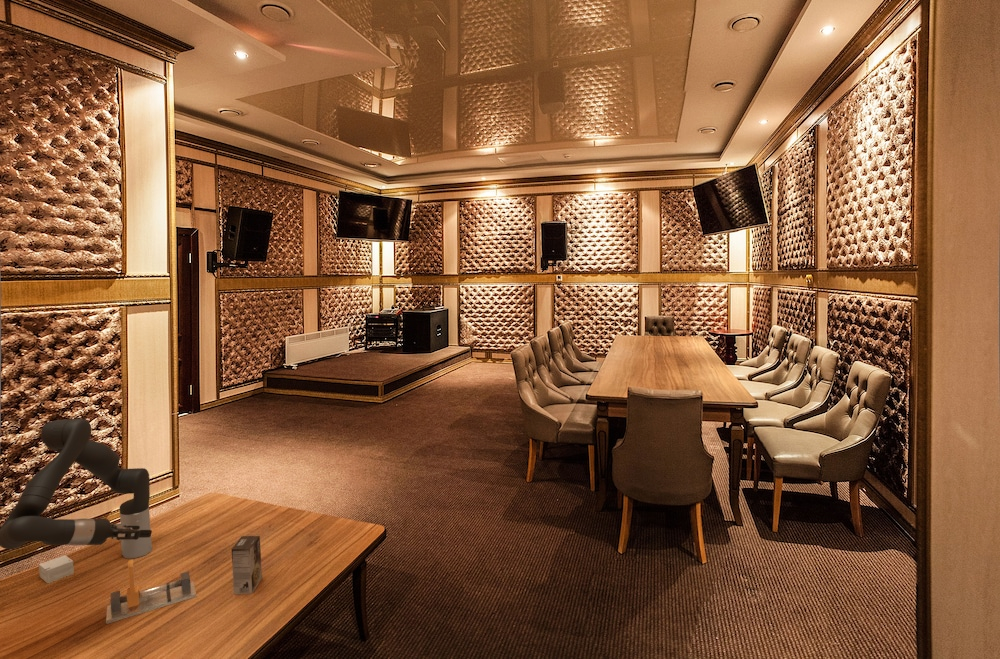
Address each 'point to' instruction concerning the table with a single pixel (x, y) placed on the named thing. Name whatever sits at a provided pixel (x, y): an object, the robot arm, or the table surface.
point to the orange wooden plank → (132, 587)
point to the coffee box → (246, 564)
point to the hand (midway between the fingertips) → (144, 531)
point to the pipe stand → (151, 599)
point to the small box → (56, 569)
